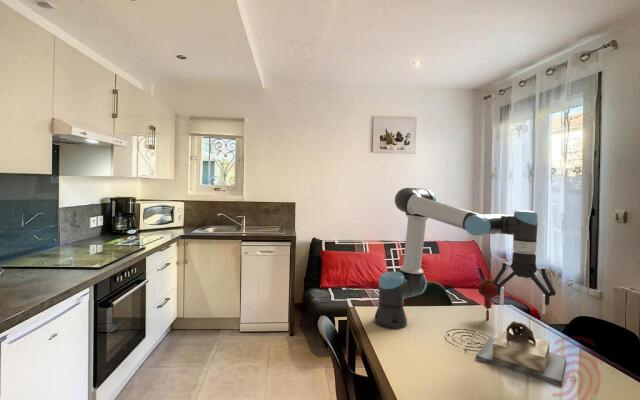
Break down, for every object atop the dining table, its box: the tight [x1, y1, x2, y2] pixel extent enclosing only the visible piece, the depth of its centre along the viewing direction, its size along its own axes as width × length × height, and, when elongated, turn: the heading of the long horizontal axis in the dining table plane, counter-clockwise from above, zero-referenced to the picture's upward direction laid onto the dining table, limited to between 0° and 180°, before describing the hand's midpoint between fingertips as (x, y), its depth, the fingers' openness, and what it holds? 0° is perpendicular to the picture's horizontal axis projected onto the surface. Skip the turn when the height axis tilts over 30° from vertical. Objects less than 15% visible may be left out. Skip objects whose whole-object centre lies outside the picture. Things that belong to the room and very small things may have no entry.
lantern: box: [477, 272, 498, 321], centre depth 167 cm, size 10×10×30 cm
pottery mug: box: [505, 321, 536, 345], centre depth 127 cm, size 12×10×8 cm
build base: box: [475, 330, 567, 386], centre depth 126 cm, size 26×22×6 cm
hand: (521, 308), depth 126 cm, fingers open, 13 cm apart
